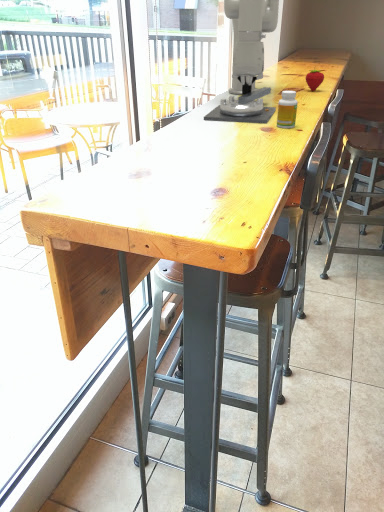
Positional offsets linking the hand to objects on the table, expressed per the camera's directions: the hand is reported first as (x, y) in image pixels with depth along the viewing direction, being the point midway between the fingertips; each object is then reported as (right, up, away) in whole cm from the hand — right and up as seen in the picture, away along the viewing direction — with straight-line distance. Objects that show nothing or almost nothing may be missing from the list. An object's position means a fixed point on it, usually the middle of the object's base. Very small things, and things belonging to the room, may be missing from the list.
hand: (246, 96), depth 143 cm
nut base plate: (-3, -9, -7) cm, 12 cm away
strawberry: (+32, +14, +30) cm, 46 cm away
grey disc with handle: (+1, -4, -2) cm, 5 cm away
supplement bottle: (+9, -17, -21) cm, 29 cm away
